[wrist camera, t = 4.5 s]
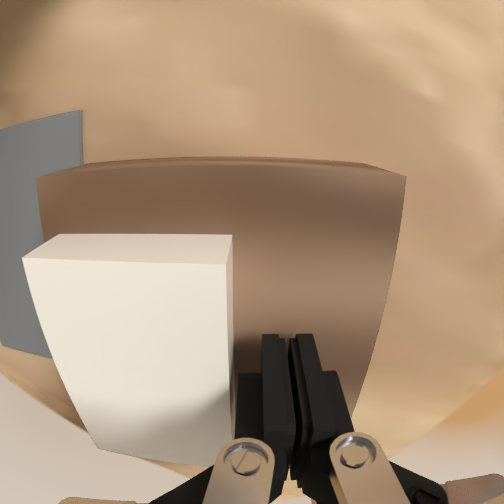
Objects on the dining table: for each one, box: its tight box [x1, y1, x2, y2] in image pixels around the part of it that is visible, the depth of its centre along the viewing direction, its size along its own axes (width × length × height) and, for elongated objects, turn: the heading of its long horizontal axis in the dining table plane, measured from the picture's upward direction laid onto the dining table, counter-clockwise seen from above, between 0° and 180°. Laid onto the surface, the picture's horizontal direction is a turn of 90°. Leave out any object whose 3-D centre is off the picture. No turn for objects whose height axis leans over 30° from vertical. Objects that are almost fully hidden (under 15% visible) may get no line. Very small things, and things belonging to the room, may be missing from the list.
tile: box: [22, 234, 235, 467], centre depth 10 cm, size 9×6×2 cm, turn 179°
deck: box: [36, 157, 406, 468], centre depth 13 cm, size 15×12×4 cm
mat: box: [0, 110, 83, 359], centre depth 14 cm, size 14×10×1 cm
